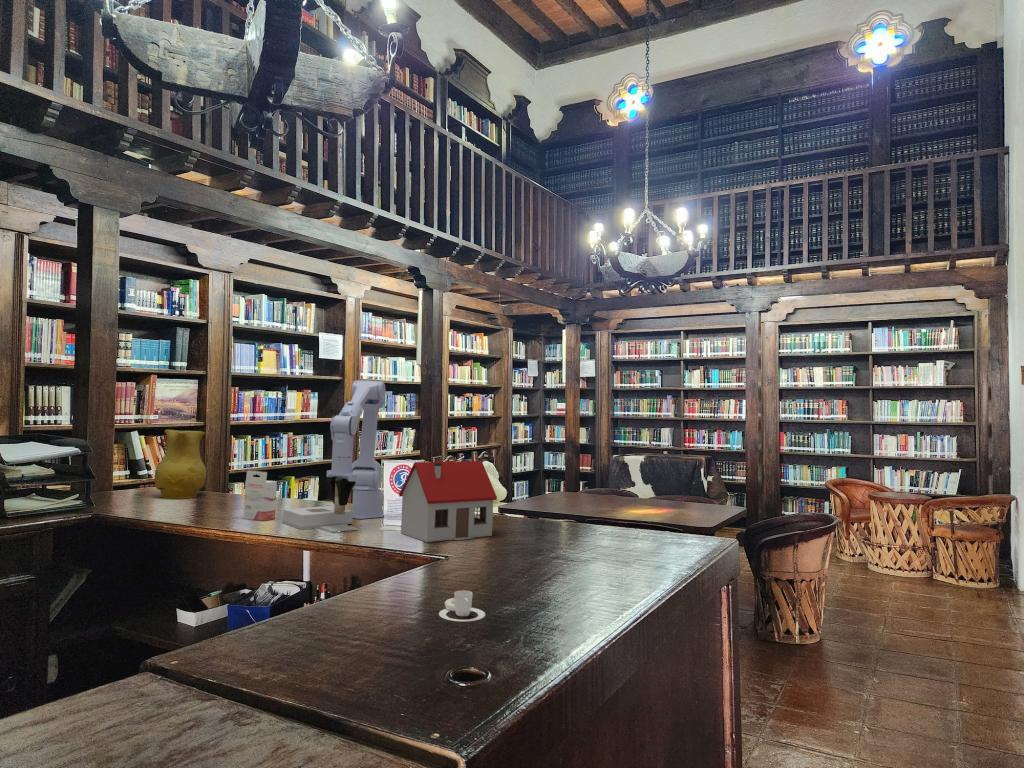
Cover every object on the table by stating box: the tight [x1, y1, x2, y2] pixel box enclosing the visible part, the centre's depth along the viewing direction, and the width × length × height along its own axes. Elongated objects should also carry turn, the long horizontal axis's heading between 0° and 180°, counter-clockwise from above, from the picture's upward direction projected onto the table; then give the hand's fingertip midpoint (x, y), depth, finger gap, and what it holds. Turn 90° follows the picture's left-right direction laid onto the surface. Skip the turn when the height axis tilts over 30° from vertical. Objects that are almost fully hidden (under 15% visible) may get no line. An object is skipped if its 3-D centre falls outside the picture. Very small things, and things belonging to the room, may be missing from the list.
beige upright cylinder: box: [333, 478, 346, 514], centre depth 189 cm, size 3×3×10 cm
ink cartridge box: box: [243, 470, 278, 522], centre depth 201 cm, size 9×5×15 cm, turn 68°
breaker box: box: [281, 505, 353, 530], centre depth 196 cm, size 16×13×4 cm
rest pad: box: [320, 524, 359, 533], centre depth 188 cm, size 8×8×1 cm
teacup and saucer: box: [438, 590, 486, 623], centre depth 113 cm, size 9×8×4 cm
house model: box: [398, 460, 498, 543], centre depth 187 cm, size 25×20×21 cm
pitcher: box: [153, 429, 207, 500], centre depth 244 cm, size 17×19×25 cm
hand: (340, 504), depth 188 cm, fingers closed on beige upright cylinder, 3 cm apart
